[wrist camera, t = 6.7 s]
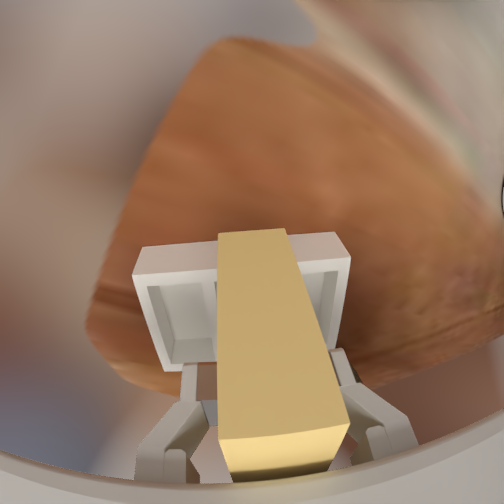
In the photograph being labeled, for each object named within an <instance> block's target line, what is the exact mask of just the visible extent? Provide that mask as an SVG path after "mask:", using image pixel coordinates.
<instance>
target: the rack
mask: <svg viewBox="0 0 504 504" xmlns="http://www.w3.org/2000/svg"><path fill="white" fill-rule="evenodd" d="M287 236H288V239H289V242H290V244H291V247H292V250H293V253H294V255H295V258H296V261H297V264H298V266H299V269H300V272H301V275H302V278H303V280H304V283H305V286H306V289H307V292H308V295H309V298H310V300H311V303H312V306H313V309H314V312H315V315H316V318H317V321H318V324H319V327H320V330H321V333H322V335H323V338H324V341H325V344H326V347H327V350H330V349H335V346H336V341H337V336H338V331H339V326H340V321H341V316H342V310H343V305H344V299H345V293H346V287H347V281H348V275H349V268H350V262H351V256H350V255H349V253H348V251H347V250H346V248H345V247H344V245H343V244H342V242H341V241H340V239H339V238H338V236H337V235H336V233H335V232H322V233H308V234H295V235H287ZM217 256H218V241H206V242H194V243H182V244H171V245H159V246H148V247H142V250H141V252H140V255H139V257H138V260H137V263H136V265H135V268H134V270H133V273H132V278H133V281H134V285H135V288H136V291H137V294H138V298H139V301H140V304H141V307H142V310H143V313H144V316H145V319H146V322H147V325H148V328H149V331H150V334H151V337H152V340H153V342H154V345H155V348H156V351H157V353H158V356H159V359H160V361H161V364H162V367H163V369H164V371H182V367H183V364H184V363H188V362H217Z"/></svg>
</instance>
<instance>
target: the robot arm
mask: <svg viewBox="0 0 504 504" xmlns="http://www.w3.org/2000/svg"><path fill="white" fill-rule="evenodd" d="M503 210H504V189H503ZM328 354H329V357H330V360H331V363H332V366H333V369H334V372H335V375H336V378H337V381H338V384H339V388H340V391H341V394H342V397H343V400H344V403H345V407H346V410H347V413H348V416H349V420H350V425H349V427H348V430H347V433H348V434H349V435H350V436H351V437H352V438H353V439H354V440H355V441H357V442H358V443H359V444H358V446H357V448H356V449H355V451H354V452H353V454H352V456H351V457H350V460H351V464H352V466H350V467H345V468H341V469H336V470H332V471H326V472H321V473H315V474H310V475H303V476H297V477H290V478H282V479H274V480H265V481H253V482H239V483H216V484H215V483H214V484H200V475H199V473H198V472H197V470H196V469H195V467H194V465H193V464H192V462H191V461H190V458H191V456H192V455H193V453H194V451H195V450H196V448H197V447H198V445H199V444H200V442H201V440H202V439H203V437H204V436H205V434H206V433H207V431H208V429H209V426H218V403H217V362H188V363H184V364H183V367H182V379H181V392H180V401H178V402H175V403H174V404H173V406H172V407H171V408H170V409H169V410H168V412H167V413H166V414H165V415H164V416H163V417H162V419H161V420H160V421H159V422H158V423H157V425H156V426H155V427H154V428H153V429H152V430H151V432H150V433H149V434H148V435H147V436H146V437H145V439H144V440H143V441H142V442H141V443H140V445H139V446H138V449H137V458H136V466H135V475H134V480H129V479H121V478H113V477H106V476H100V475H94V474H89V473H83V472H78V471H74V470H69V469H65V468H60V467H56V466H52V465H48V464H44V463H41V462H37V461H33V460H30V459H27V458H23V457H20V456H17V455H14V454H11V453H8V452H5V451H2V450H0V504H504V408H503V409H501V410H499V411H497V412H495V413H493V414H491V415H490V416H488V417H486V418H484V419H482V420H480V421H477V422H476V423H473V424H471V425H469V426H467V427H465V428H462V429H460V430H458V431H456V432H453V433H451V434H449V435H446V436H444V437H441V438H439V439H436V440H434V441H431V442H429V443H426V444H424V445H421V446H419V445H418V442H417V440H416V437H415V434H414V432H413V430H412V427H411V425H410V422H409V420H408V417H407V416H406V415H404V414H403V413H402V412H400V411H399V410H397V409H396V408H395V407H393V406H392V405H390V404H389V403H388V402H386V401H385V400H384V399H382V398H381V397H379V396H378V395H377V394H375V393H374V392H373V391H371V390H370V389H368V388H367V387H366V386H364V385H363V384H362V383H356V381H355V378H354V375H353V372H352V370H351V367H350V364H349V362H348V359H347V357H346V354H345V351H344V349H343V348H336V349H330V350H328Z"/></svg>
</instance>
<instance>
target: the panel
mask: <svg viewBox="0 0 504 504" xmlns="http://www.w3.org/2000/svg"><path fill="white" fill-rule="evenodd" d="M217 403H218V440H219V443H220V446H221V449H222V452H223V454H224V458H225V461H226V463H227V466H228V469H229V472H230V475H231V477H232V480H233V483H239V482H253V481H265V480H274V479H282V478H290V477H297V476H303V475H310V474H315V473H321V472H326V471H327V470H328V468H329V466H330V464H331V462H332V460H333V458H334V457H335V455H336V452H337V450H338V448H339V446H340V444H341V442H342V440H343V438H344V436H345V434H346V432H347V430H348V427H349V425H350V420H349V416H348V413H347V410H346V407H345V403H344V400H343V397H342V394H341V391H340V388H339V384H338V381H337V378H336V375H335V372H334V369H333V366H332V363H331V360H330V357H329V354H328V350H327V347H326V344H325V341H324V338H323V335H322V333H321V330H320V327H319V324H318V321H317V318H316V315H315V312H314V309H313V306H312V303H311V300H310V298H309V295H308V292H307V289H306V286H305V283H304V280H303V278H302V275H301V272H300V269H299V266H298V264H297V261H296V258H295V255H294V253H293V250H292V247H291V244H290V242H289V239H288V236H287V234H286V231H285V228H280V229H266V230H253V231H239V232H227V233H218V256H217Z"/></svg>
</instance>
